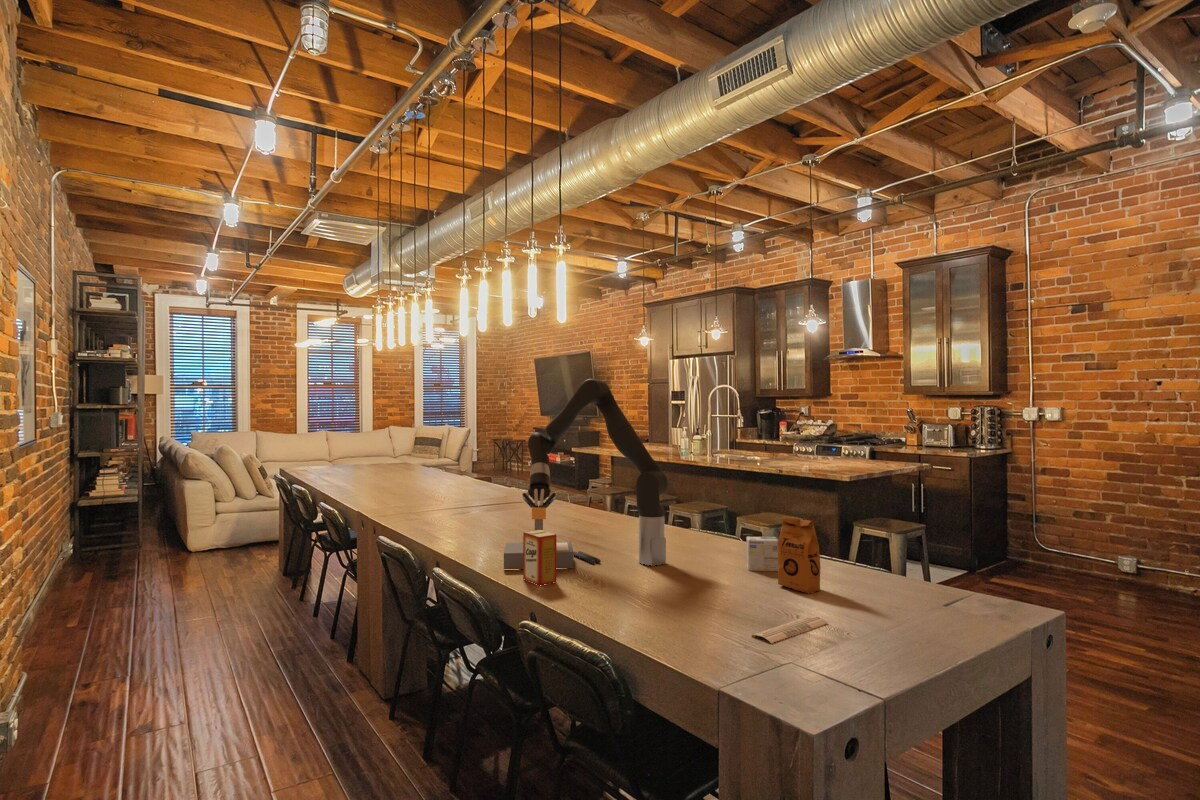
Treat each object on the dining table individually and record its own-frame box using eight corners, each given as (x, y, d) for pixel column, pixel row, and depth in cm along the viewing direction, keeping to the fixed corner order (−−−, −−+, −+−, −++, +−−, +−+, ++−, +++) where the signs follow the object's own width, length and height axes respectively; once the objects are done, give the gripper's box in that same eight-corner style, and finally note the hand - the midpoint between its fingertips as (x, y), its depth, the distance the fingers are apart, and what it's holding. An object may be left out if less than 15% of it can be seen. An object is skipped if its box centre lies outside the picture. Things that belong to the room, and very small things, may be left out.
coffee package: (806, 596, 193) (806, 523, 193) (773, 586, 203) (773, 517, 203) (826, 590, 199) (826, 519, 199) (793, 581, 209) (793, 513, 209)
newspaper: (808, 620, 174) (808, 613, 174) (831, 627, 169) (831, 620, 169) (751, 639, 160) (751, 632, 160) (774, 648, 154) (774, 641, 154)
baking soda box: (556, 582, 207) (556, 533, 207) (539, 586, 202) (539, 535, 202) (539, 576, 214) (540, 528, 214) (523, 579, 210) (523, 531, 210)
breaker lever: (531, 543, 231) (531, 507, 233) (545, 543, 232) (545, 507, 233) (531, 544, 229) (531, 508, 230) (545, 543, 229) (545, 507, 231)
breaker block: (506, 559, 237) (506, 534, 237) (571, 557, 239) (571, 533, 239) (503, 570, 221) (503, 544, 221) (573, 569, 223) (573, 543, 223)
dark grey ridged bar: (601, 563, 231) (601, 559, 231) (592, 564, 229) (592, 560, 229) (580, 554, 244) (580, 550, 244) (571, 555, 242) (571, 551, 242)
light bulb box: (776, 566, 227) (776, 536, 227) (779, 571, 220) (779, 540, 220) (745, 566, 228) (745, 535, 228) (748, 571, 221) (748, 539, 221)
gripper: (522, 471, 242) (519, 510, 230) (557, 471, 243) (556, 510, 231) (522, 482, 247) (520, 521, 235) (557, 483, 248) (556, 521, 236)
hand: (538, 516), depth 233 cm, fingers closed
